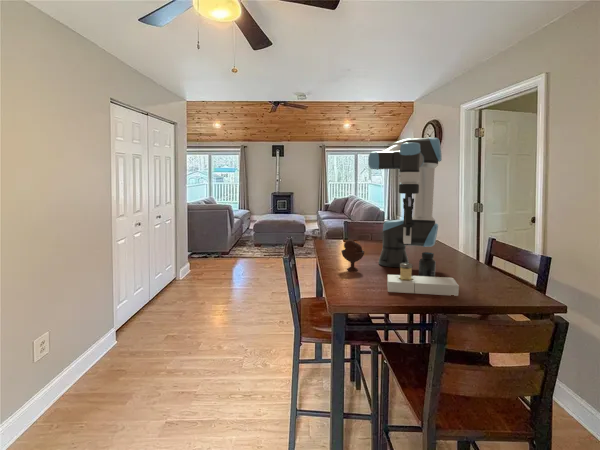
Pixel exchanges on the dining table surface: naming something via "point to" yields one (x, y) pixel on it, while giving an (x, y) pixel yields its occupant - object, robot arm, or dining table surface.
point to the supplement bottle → (427, 265)
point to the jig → (423, 285)
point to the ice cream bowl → (352, 253)
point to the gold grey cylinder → (405, 271)
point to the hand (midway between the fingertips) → (406, 242)
